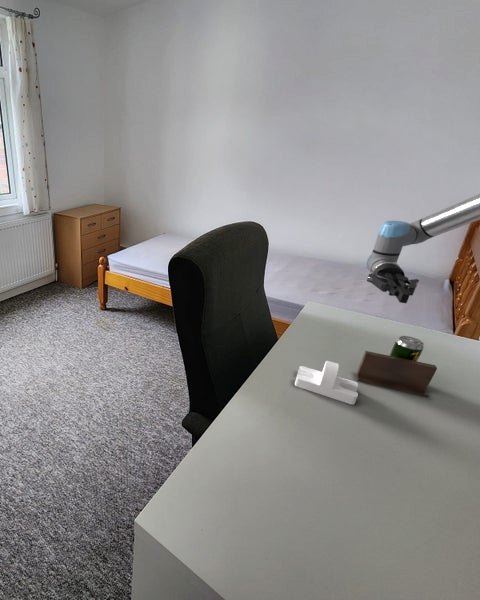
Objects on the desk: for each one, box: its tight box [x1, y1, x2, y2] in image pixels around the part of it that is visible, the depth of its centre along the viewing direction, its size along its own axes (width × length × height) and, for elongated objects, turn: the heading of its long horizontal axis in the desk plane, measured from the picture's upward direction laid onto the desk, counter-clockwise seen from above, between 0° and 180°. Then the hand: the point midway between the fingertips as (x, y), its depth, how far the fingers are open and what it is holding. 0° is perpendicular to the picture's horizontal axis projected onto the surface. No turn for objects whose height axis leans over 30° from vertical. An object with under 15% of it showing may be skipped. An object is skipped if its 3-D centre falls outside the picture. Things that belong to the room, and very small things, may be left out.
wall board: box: [355, 350, 438, 398], centre depth 88 cm, size 14×3×8 cm, turn 60°
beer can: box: [389, 335, 425, 362], centre depth 90 cm, size 5×5×12 cm
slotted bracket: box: [294, 360, 359, 405], centre depth 88 cm, size 13×7×8 cm, turn 53°
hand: (404, 298), depth 98 cm, fingers closed
